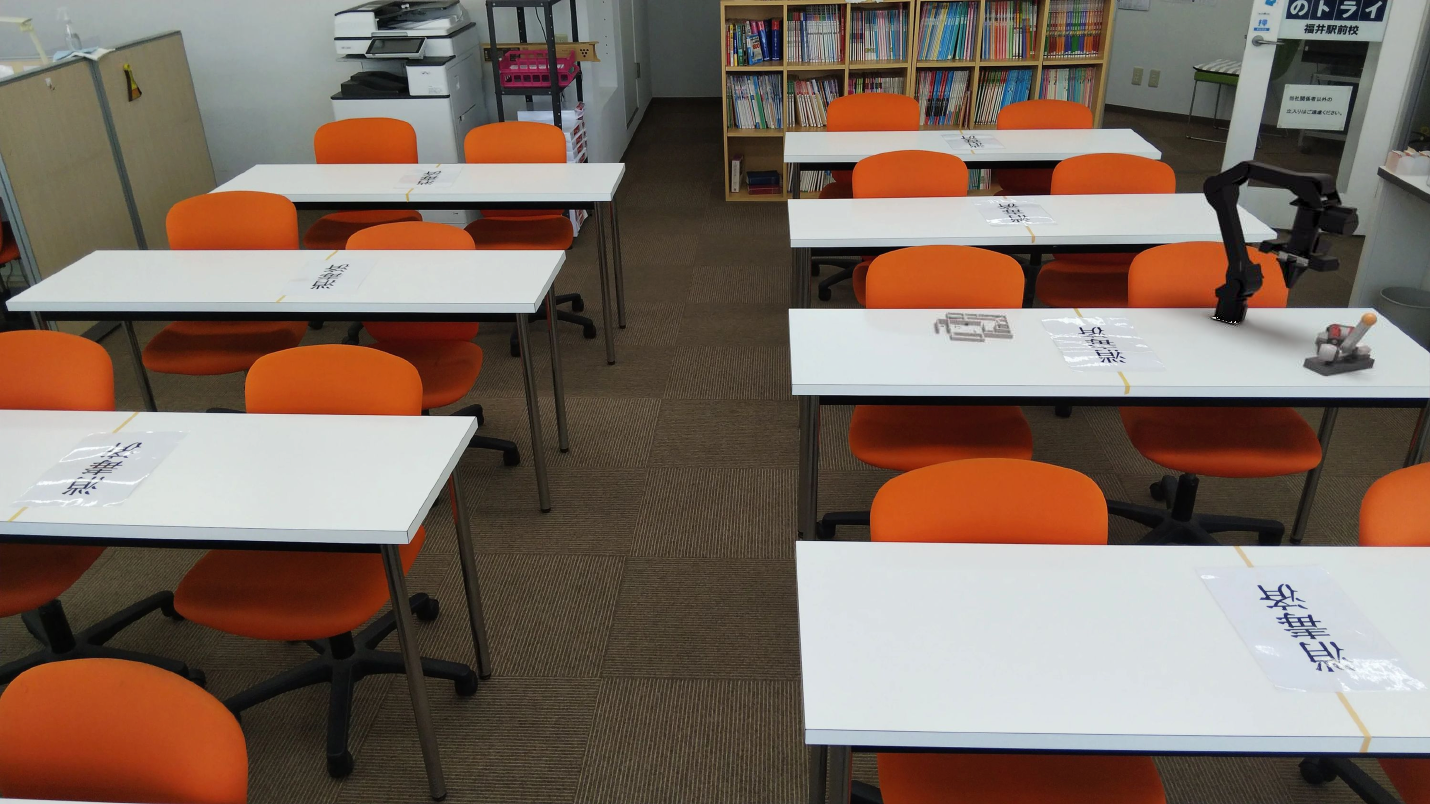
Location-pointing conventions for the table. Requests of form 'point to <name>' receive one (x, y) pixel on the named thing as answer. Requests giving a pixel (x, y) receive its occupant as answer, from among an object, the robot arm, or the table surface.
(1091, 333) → the table surface
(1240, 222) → the robot arm
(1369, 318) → the ball-topped post
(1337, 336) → the walkie-talkie
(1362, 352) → the white block
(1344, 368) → the slide switch base
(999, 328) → the floor plan model
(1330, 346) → the push button
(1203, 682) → the table surface
